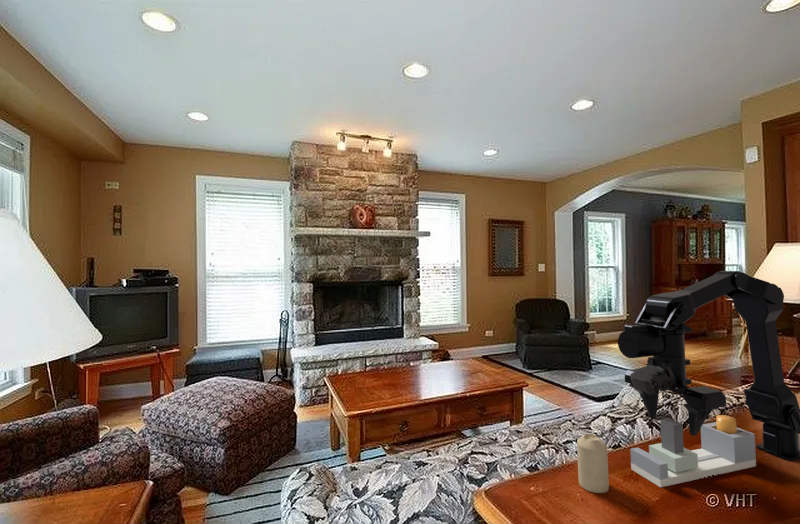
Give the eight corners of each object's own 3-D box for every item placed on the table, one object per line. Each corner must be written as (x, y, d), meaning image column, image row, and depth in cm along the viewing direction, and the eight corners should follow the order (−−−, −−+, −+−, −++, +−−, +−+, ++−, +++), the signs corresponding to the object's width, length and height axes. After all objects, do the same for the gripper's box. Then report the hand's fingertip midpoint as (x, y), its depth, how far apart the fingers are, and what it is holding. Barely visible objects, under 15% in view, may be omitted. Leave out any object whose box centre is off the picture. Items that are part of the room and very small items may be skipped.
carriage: (671, 453, 84) (669, 414, 84) (698, 467, 78) (696, 425, 78) (649, 458, 82) (647, 418, 82) (675, 472, 77) (673, 429, 77)
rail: (721, 451, 88) (720, 421, 88) (756, 466, 81) (754, 433, 81) (631, 469, 82) (629, 437, 82) (660, 487, 75) (658, 452, 75)
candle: (613, 494, 73) (610, 443, 73) (582, 492, 74) (580, 442, 74) (603, 478, 79) (601, 431, 79) (575, 476, 80) (573, 430, 80)
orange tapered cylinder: (724, 438, 86) (723, 414, 86) (741, 444, 83) (740, 420, 83) (713, 440, 85) (712, 416, 85) (729, 447, 82) (728, 422, 82)
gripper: (603, 348, 88) (607, 415, 87) (681, 369, 69) (685, 453, 69) (642, 344, 90) (645, 408, 90) (726, 363, 72) (730, 443, 72)
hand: (671, 426), depth 80 cm, fingers open, 9 cm apart
